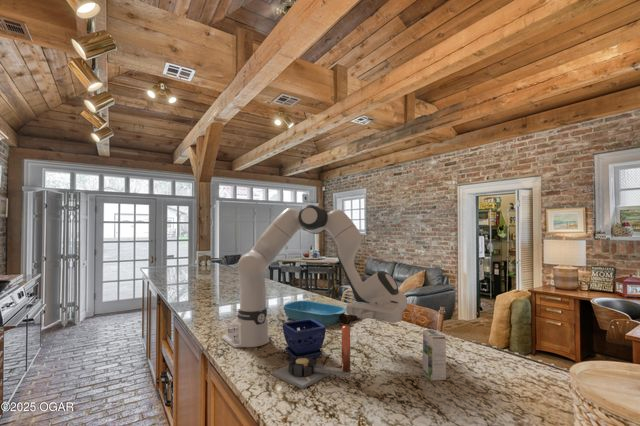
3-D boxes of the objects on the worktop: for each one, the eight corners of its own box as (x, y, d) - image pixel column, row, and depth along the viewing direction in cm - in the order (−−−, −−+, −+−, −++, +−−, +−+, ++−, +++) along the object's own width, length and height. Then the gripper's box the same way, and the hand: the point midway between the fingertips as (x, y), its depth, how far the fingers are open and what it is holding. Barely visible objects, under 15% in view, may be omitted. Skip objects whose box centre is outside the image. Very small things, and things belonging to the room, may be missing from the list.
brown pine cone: (359, 321, 175) (344, 327, 163) (353, 315, 178) (337, 320, 166) (364, 313, 173) (349, 318, 162) (357, 307, 176) (342, 311, 165)
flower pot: (294, 365, 114) (294, 331, 114) (281, 352, 125) (281, 322, 126) (326, 358, 120) (326, 326, 120) (311, 347, 131) (311, 317, 132)
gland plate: (272, 375, 106) (272, 361, 106) (301, 362, 116) (301, 349, 116) (302, 389, 96) (302, 373, 97) (331, 373, 107) (331, 359, 107)
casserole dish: (353, 320, 172) (353, 306, 172) (332, 330, 154) (332, 315, 154) (299, 310, 193) (299, 298, 193) (275, 318, 174) (275, 305, 174)
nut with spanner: (285, 374, 103) (285, 325, 104) (294, 363, 112) (294, 318, 113) (347, 383, 98) (347, 330, 98) (352, 371, 106) (352, 323, 107)
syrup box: (422, 373, 108) (421, 329, 108) (439, 372, 108) (438, 329, 109) (429, 381, 102) (428, 335, 103) (447, 380, 102) (446, 334, 103)
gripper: (357, 296, 127) (336, 302, 116) (405, 303, 113) (386, 311, 103) (358, 312, 126) (336, 320, 116) (405, 321, 113) (386, 331, 102)
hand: (360, 316), depth 109 cm, fingers closed
